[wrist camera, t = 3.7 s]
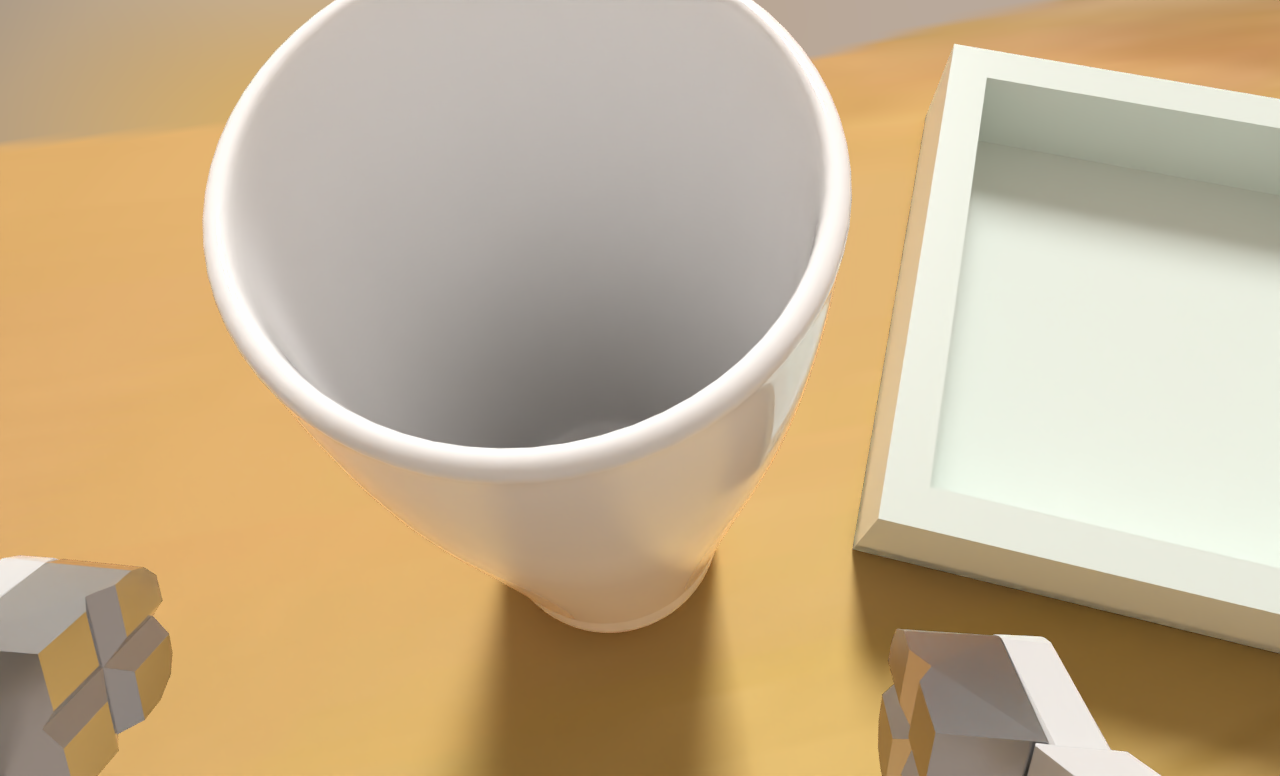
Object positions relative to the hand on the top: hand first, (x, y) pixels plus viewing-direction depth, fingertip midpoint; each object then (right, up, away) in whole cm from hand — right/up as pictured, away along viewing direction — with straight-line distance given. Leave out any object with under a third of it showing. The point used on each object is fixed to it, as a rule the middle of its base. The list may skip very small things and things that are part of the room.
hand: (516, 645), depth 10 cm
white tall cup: (+1, -1, +13) cm, 13 cm away
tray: (+15, +3, +14) cm, 21 cm away
